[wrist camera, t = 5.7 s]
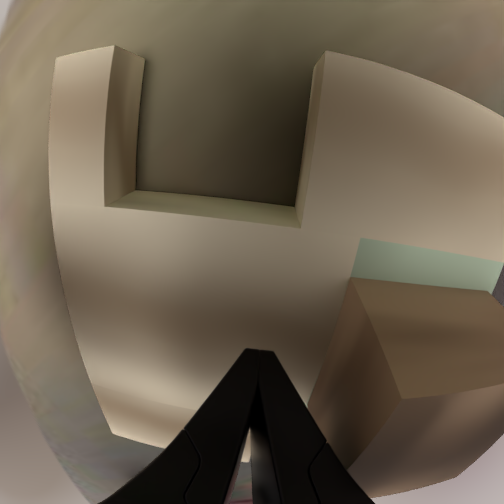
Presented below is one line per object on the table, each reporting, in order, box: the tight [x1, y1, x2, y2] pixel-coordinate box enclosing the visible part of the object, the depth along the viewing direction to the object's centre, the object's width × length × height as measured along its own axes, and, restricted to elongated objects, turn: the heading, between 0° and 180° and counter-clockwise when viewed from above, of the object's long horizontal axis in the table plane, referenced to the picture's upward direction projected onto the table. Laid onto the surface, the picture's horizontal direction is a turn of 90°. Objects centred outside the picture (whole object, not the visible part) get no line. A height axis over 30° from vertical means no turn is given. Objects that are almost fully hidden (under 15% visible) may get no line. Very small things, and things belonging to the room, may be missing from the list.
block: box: [307, 277, 504, 498], centre depth 6 cm, size 5×5×4 cm
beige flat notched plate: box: [48, 45, 504, 462], centre depth 9 cm, size 16×14×2 cm
